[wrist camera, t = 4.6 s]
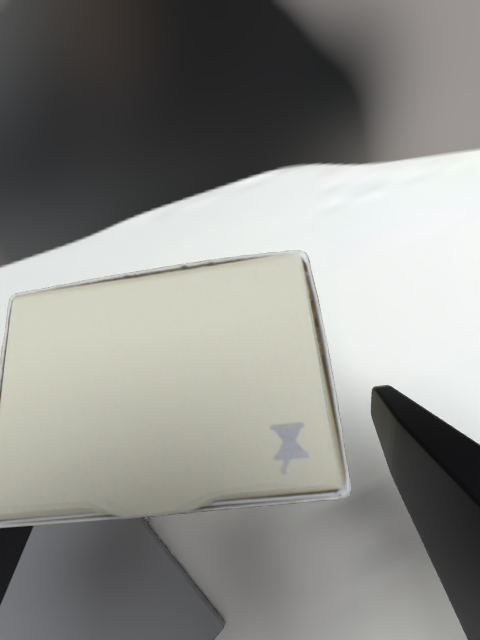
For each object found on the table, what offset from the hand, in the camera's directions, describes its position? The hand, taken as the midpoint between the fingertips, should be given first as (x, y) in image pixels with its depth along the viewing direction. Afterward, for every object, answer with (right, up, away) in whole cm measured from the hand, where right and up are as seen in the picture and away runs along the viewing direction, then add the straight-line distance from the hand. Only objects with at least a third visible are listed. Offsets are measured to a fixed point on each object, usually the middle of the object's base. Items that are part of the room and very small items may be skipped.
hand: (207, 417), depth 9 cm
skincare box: (+1, -2, +8) cm, 9 cm away
